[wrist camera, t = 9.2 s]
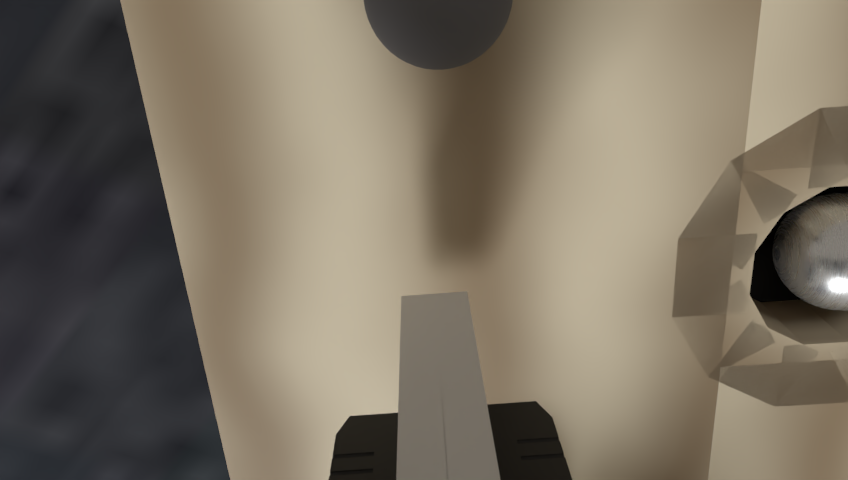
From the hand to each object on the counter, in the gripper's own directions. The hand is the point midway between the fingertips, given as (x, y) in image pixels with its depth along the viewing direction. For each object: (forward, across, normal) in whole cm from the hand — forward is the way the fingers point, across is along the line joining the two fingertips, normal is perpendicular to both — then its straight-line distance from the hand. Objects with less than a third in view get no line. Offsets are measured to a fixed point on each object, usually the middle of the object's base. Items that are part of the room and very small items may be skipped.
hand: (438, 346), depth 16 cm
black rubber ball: (+1, 0, +8) cm, 8 cm away
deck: (+5, +6, 0) cm, 7 cm away
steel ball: (+3, +11, 0) cm, 11 cm away
